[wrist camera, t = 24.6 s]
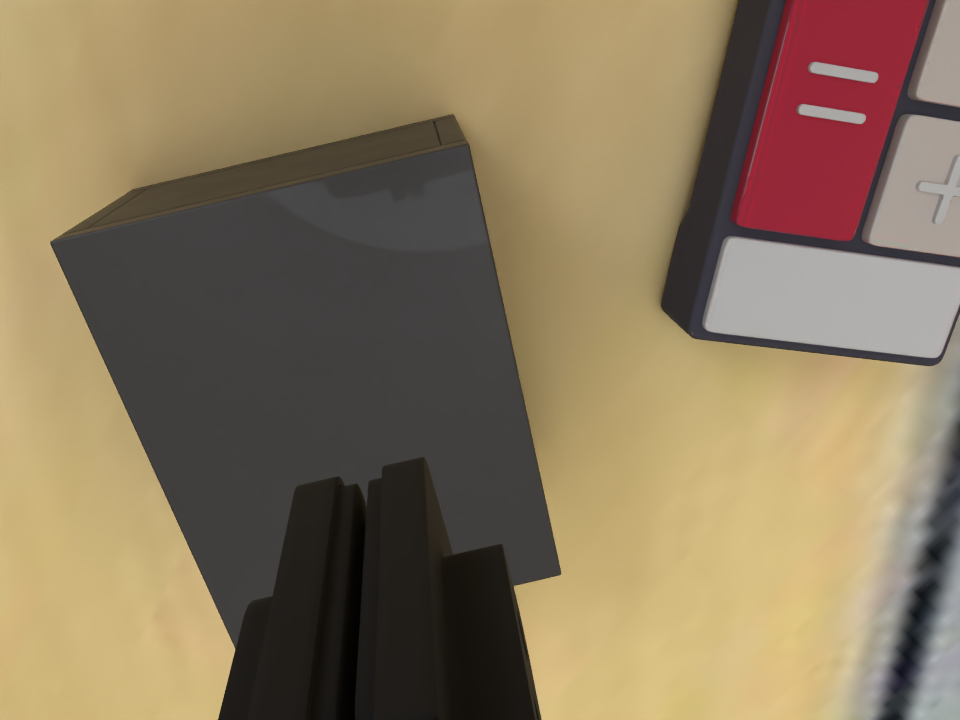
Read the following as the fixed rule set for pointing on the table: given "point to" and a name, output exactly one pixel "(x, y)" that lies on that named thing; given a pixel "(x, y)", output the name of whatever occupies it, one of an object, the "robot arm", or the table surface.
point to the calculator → (829, 184)
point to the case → (277, 170)
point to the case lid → (317, 359)
